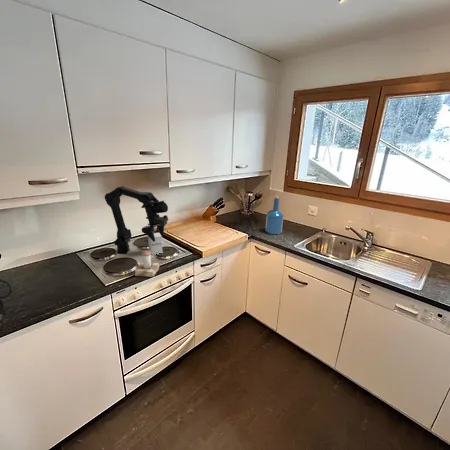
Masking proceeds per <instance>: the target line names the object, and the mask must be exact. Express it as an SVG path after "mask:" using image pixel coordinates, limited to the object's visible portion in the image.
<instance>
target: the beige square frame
mask: <svg viewBox="0 0 450 450" xmlns="http://www.w3.org/2000/svg"><path fill="white" fill-rule="evenodd" d="M159 269H160V263H159V262H151V269H143V261H142V262H140V264H138V266H137V267H136V268H135V270H134V276H135V277H148V278H149V277H150V278H153V277H155V275H156V273H157V272H158V271H159Z"/></svg>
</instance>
